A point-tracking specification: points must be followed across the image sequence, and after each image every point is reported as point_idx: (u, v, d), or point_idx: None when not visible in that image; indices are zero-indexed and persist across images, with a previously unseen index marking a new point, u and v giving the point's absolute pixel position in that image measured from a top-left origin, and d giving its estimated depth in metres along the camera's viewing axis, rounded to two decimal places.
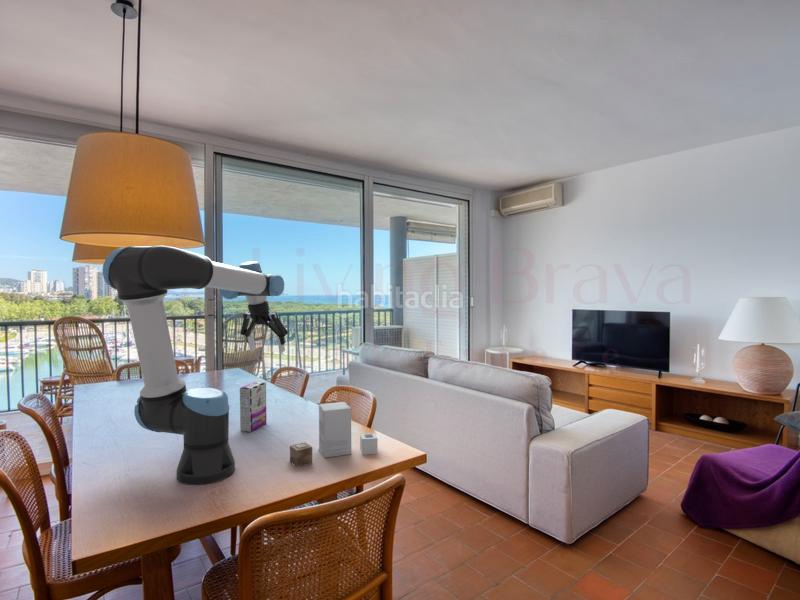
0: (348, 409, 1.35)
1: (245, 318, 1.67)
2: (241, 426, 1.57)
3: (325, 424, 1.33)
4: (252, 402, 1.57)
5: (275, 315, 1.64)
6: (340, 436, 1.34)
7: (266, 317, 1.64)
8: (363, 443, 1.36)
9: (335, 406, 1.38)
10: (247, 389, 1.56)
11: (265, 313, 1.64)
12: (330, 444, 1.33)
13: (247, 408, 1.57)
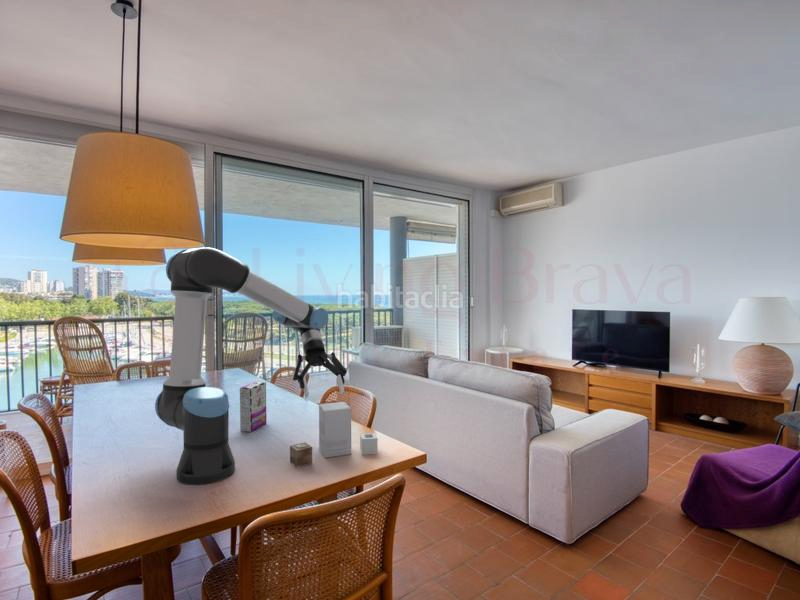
0: (348, 409, 1.35)
1: (300, 358, 1.53)
2: (241, 426, 1.57)
3: (325, 424, 1.33)
4: (252, 402, 1.57)
5: None
6: (340, 436, 1.34)
7: (325, 355, 1.58)
8: (363, 443, 1.36)
9: (335, 406, 1.38)
10: (247, 389, 1.56)
11: (324, 352, 1.59)
12: (330, 444, 1.33)
13: (247, 408, 1.57)
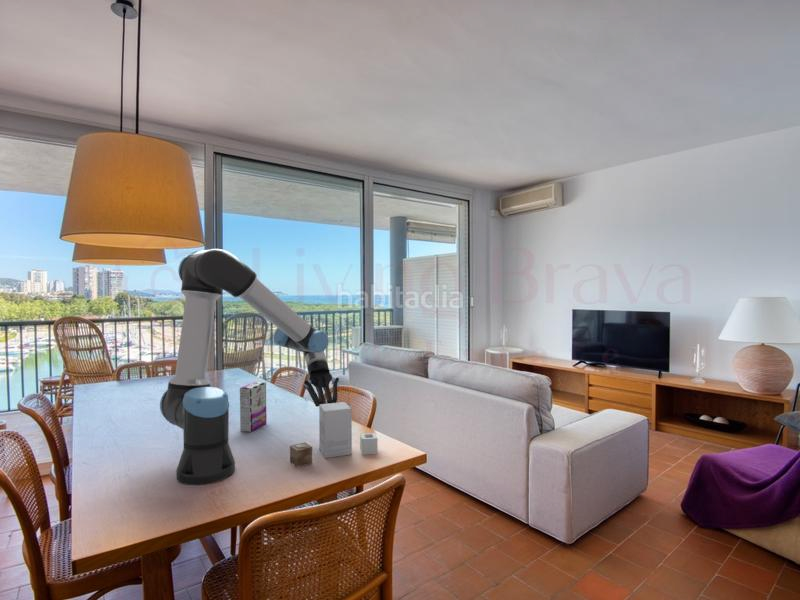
0: (348, 409, 1.35)
1: (309, 384, 1.50)
2: (241, 426, 1.57)
3: (325, 424, 1.32)
4: (252, 402, 1.57)
5: (337, 382, 1.56)
6: (340, 436, 1.34)
7: (329, 377, 1.55)
8: (363, 443, 1.36)
9: (335, 406, 1.37)
10: (247, 389, 1.56)
11: None
12: (330, 444, 1.33)
13: (247, 408, 1.57)
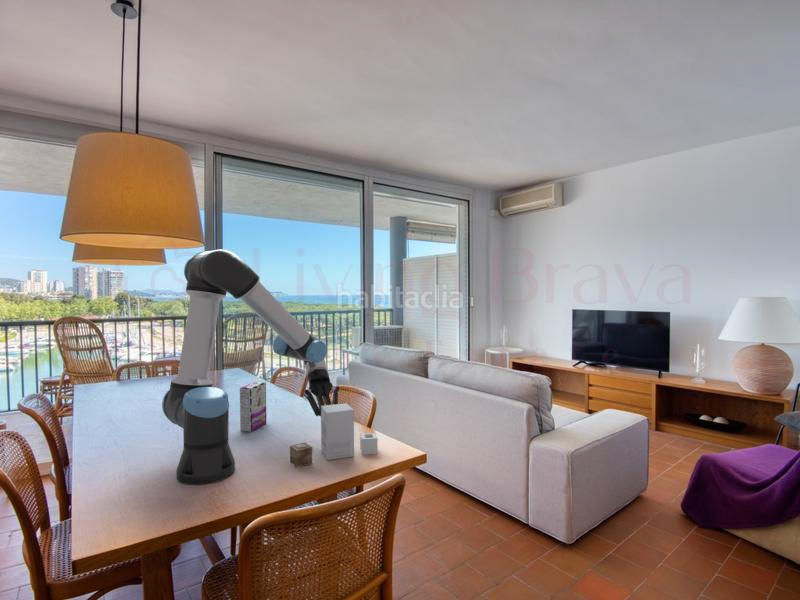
0: (351, 411, 1.34)
1: (309, 393, 1.48)
2: (241, 426, 1.57)
3: (327, 426, 1.31)
4: (252, 402, 1.57)
5: None
6: (342, 438, 1.33)
7: (329, 385, 1.53)
8: (363, 443, 1.36)
9: (338, 407, 1.36)
10: (247, 389, 1.56)
11: None
12: (332, 446, 1.31)
13: (247, 408, 1.57)
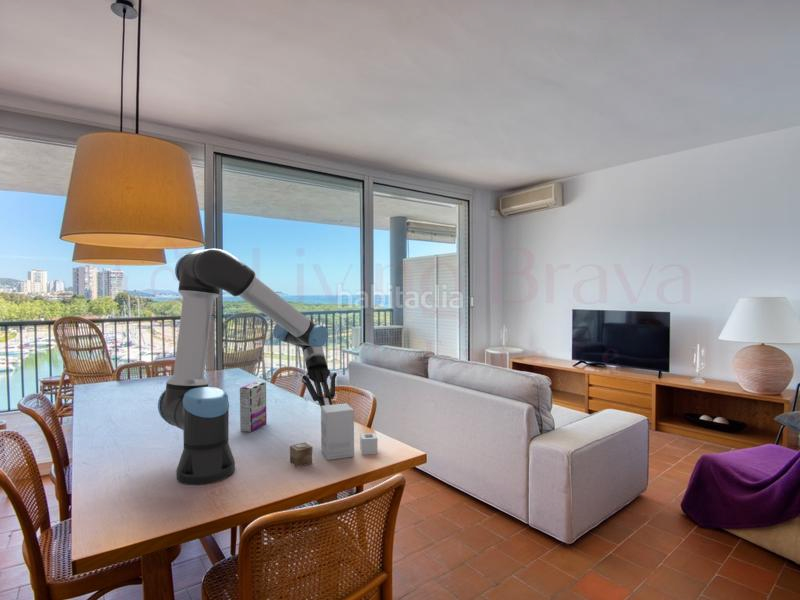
0: (351, 411, 1.34)
1: (307, 379, 1.51)
2: (241, 426, 1.57)
3: (327, 426, 1.31)
4: (252, 402, 1.57)
5: (335, 377, 1.57)
6: (342, 438, 1.32)
7: (327, 372, 1.56)
8: (363, 443, 1.36)
9: (338, 407, 1.36)
10: (247, 389, 1.56)
11: None
12: (332, 447, 1.31)
13: (247, 408, 1.57)
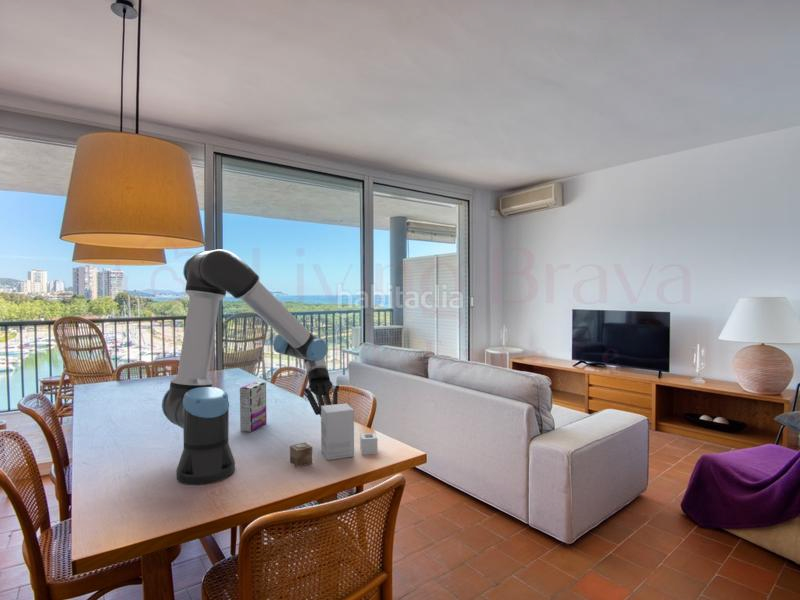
0: (351, 411, 1.33)
1: (309, 391, 1.48)
2: (241, 426, 1.57)
3: (327, 426, 1.31)
4: (252, 402, 1.57)
5: None
6: (342, 438, 1.32)
7: (329, 384, 1.53)
8: (363, 443, 1.36)
9: (338, 407, 1.36)
10: (247, 389, 1.56)
11: None
12: (332, 447, 1.31)
13: (247, 408, 1.57)
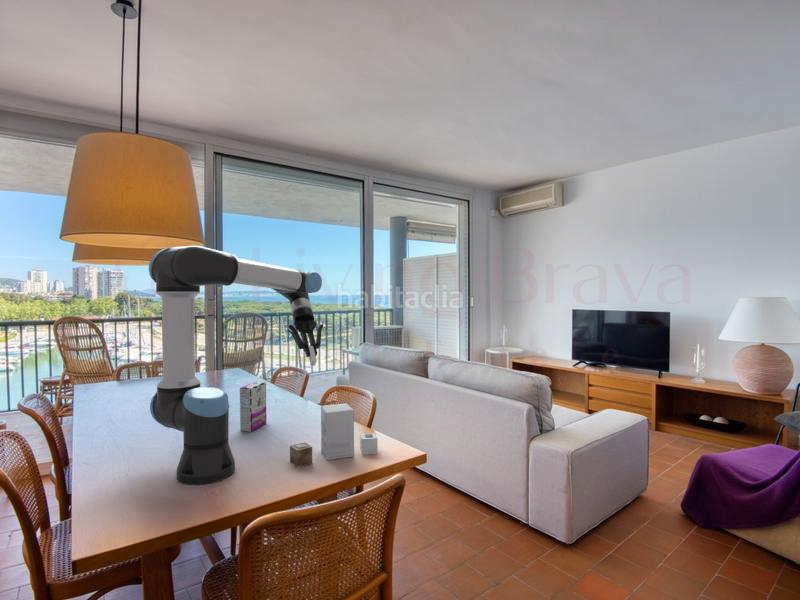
0: (351, 411, 1.34)
1: (293, 328, 1.53)
2: (241, 426, 1.57)
3: (327, 426, 1.31)
4: (252, 402, 1.57)
5: None
6: (342, 438, 1.32)
7: (313, 323, 1.58)
8: (363, 443, 1.36)
9: (338, 407, 1.36)
10: (247, 389, 1.56)
11: None
12: (332, 447, 1.31)
13: (247, 408, 1.57)
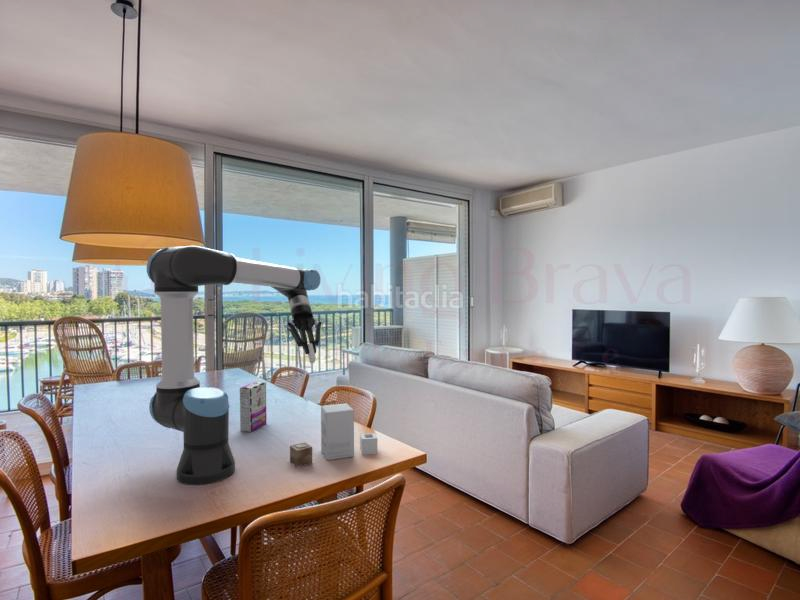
0: (351, 411, 1.34)
1: (292, 325, 1.53)
2: (241, 426, 1.57)
3: (327, 426, 1.31)
4: (252, 402, 1.57)
5: (320, 326, 1.59)
6: (342, 438, 1.32)
7: (312, 320, 1.58)
8: (363, 443, 1.36)
9: (338, 407, 1.36)
10: (247, 389, 1.56)
11: None
12: (332, 447, 1.31)
13: (247, 408, 1.57)
